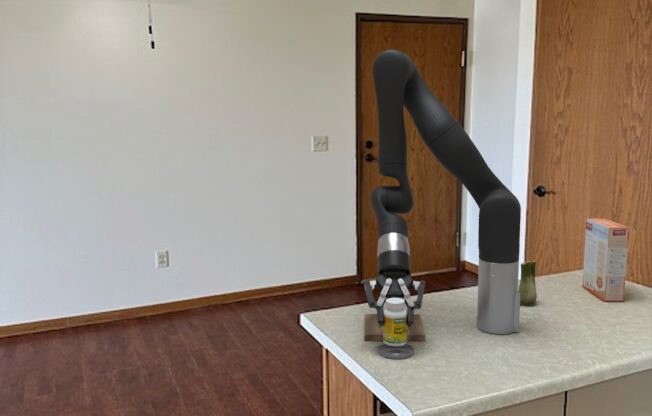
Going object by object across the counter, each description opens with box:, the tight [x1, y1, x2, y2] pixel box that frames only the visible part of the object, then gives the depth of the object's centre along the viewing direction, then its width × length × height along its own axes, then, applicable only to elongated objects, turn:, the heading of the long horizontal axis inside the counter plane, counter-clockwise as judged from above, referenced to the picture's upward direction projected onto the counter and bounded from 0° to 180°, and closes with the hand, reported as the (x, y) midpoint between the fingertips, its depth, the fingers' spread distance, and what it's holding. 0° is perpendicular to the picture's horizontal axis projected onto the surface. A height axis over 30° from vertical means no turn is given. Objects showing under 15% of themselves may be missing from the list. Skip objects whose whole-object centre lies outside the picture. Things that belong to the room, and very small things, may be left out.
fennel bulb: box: [518, 260, 538, 306], centre depth 156 cm, size 6×5×12 cm
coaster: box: [377, 342, 415, 360], centre depth 127 cm, size 8×8×1 cm
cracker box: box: [581, 217, 630, 302], centre depth 163 cm, size 14×6×21 cm, turn 179°
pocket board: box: [363, 313, 426, 342], centre depth 140 cm, size 14×14×2 cm
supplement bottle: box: [382, 298, 408, 346], centre depth 126 cm, size 5×5×10 cm
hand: (395, 324), depth 125 cm, fingers closed on supplement bottle, 5 cm apart
